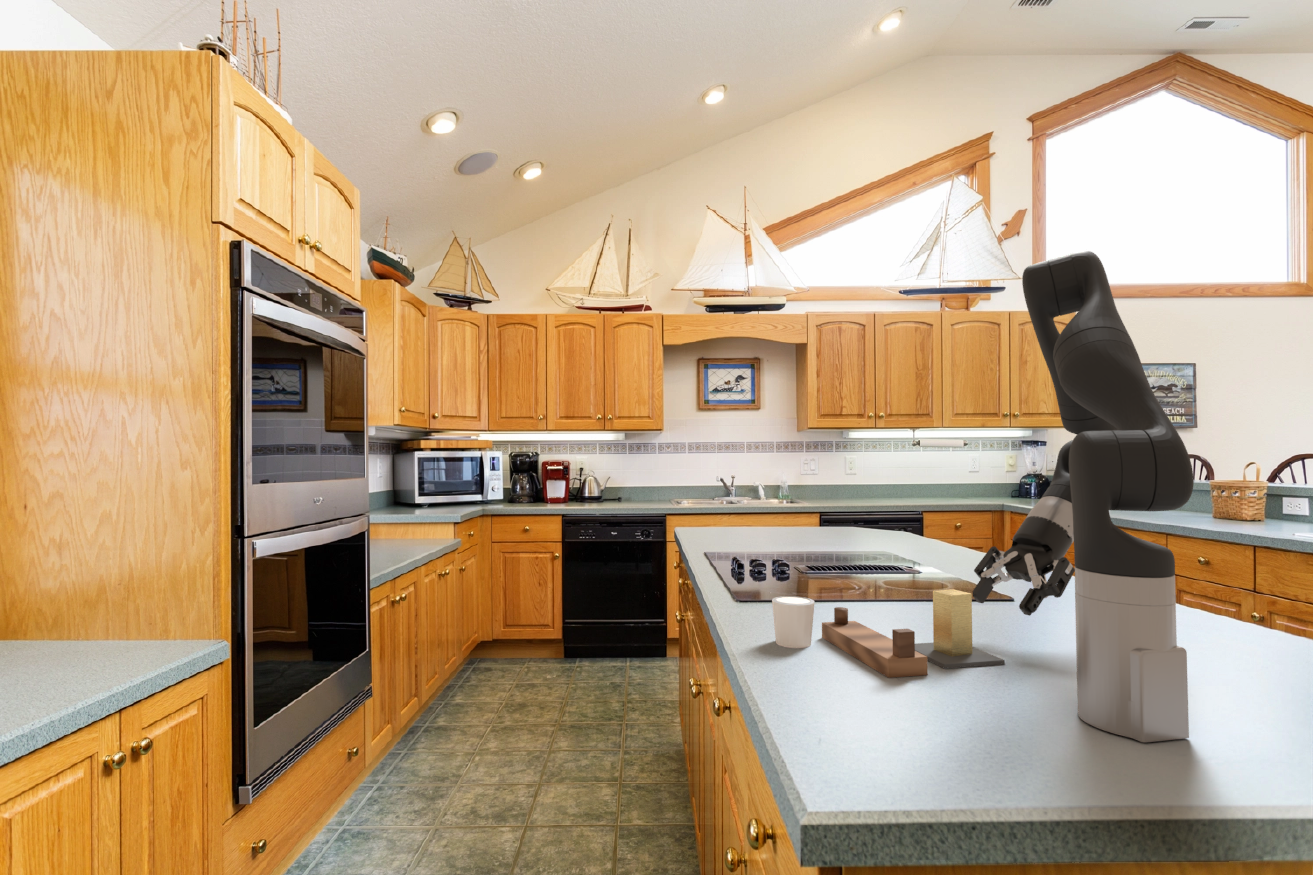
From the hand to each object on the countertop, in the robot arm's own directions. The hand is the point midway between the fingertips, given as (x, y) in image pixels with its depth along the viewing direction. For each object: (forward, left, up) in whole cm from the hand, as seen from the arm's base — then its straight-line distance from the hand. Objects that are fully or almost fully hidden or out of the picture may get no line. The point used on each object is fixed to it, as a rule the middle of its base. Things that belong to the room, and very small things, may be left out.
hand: (999, 605), depth 100 cm
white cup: (+9, +31, -7) cm, 33 cm away
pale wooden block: (-2, +10, -6) cm, 12 cm away
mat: (-2, +10, -7) cm, 12 cm away
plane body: (+1, +22, -7) cm, 23 cm away
